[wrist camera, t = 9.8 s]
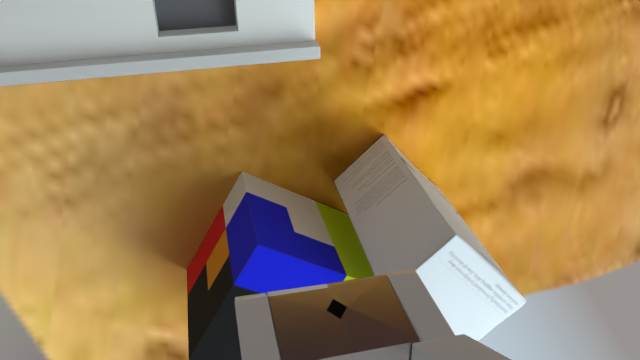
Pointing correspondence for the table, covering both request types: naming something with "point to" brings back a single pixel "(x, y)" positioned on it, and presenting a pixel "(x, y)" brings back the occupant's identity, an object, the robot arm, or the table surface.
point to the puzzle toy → (264, 258)
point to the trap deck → (148, 36)
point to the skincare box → (424, 239)
